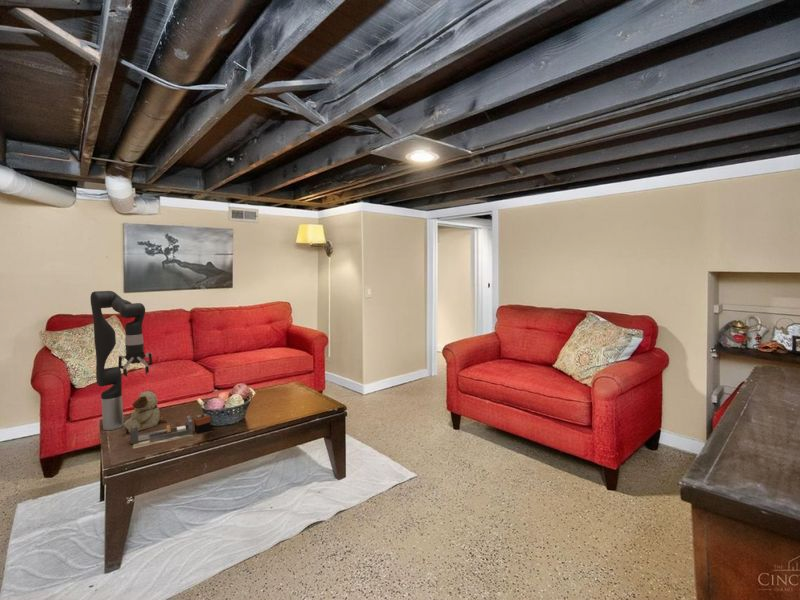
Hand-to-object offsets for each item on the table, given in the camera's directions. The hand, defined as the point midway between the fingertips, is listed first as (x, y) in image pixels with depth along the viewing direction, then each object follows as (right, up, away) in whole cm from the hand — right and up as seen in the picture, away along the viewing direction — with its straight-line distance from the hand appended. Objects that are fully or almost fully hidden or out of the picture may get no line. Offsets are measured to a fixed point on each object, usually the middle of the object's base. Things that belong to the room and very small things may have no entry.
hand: (136, 374), depth 202 cm
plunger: (+7, -33, +1) cm, 33 cm away
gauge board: (+11, -34, +4) cm, 36 cm away
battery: (+28, -34, +12) cm, 45 cm away
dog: (-7, -33, +21) cm, 39 cm away
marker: (+18, -32, +9) cm, 38 cm away
